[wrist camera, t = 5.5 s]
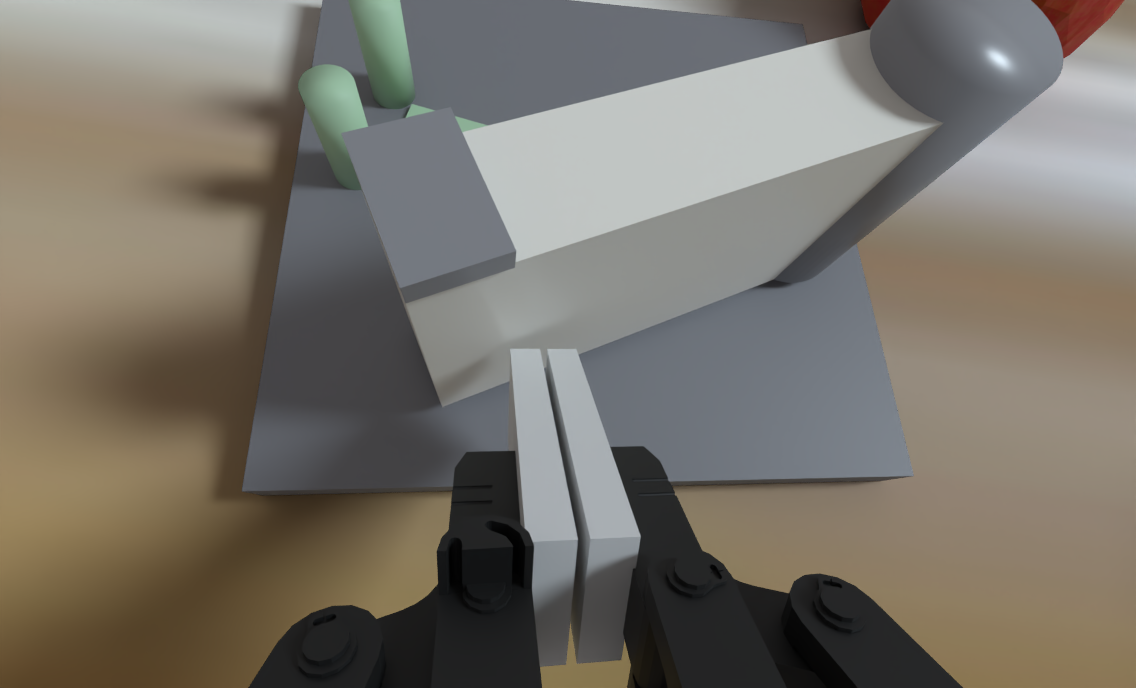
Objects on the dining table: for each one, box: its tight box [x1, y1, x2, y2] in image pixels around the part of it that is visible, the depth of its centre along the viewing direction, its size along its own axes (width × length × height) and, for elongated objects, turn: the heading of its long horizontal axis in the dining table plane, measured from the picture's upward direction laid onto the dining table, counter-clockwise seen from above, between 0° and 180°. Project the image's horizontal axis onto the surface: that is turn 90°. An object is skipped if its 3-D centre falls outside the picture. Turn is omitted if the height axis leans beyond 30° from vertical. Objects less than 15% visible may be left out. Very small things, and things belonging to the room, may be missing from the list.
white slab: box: [341, 0, 1063, 407], centre depth 15 cm, size 16×4×9 cm, turn 114°
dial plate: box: [242, 0, 914, 495], centre depth 19 cm, size 22×21×6 cm
